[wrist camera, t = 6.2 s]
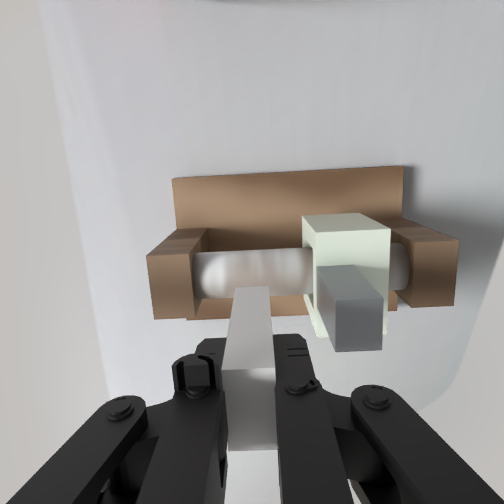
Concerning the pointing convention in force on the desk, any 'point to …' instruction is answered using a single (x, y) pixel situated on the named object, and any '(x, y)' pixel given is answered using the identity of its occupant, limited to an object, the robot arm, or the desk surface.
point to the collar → (348, 279)
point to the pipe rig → (286, 241)
